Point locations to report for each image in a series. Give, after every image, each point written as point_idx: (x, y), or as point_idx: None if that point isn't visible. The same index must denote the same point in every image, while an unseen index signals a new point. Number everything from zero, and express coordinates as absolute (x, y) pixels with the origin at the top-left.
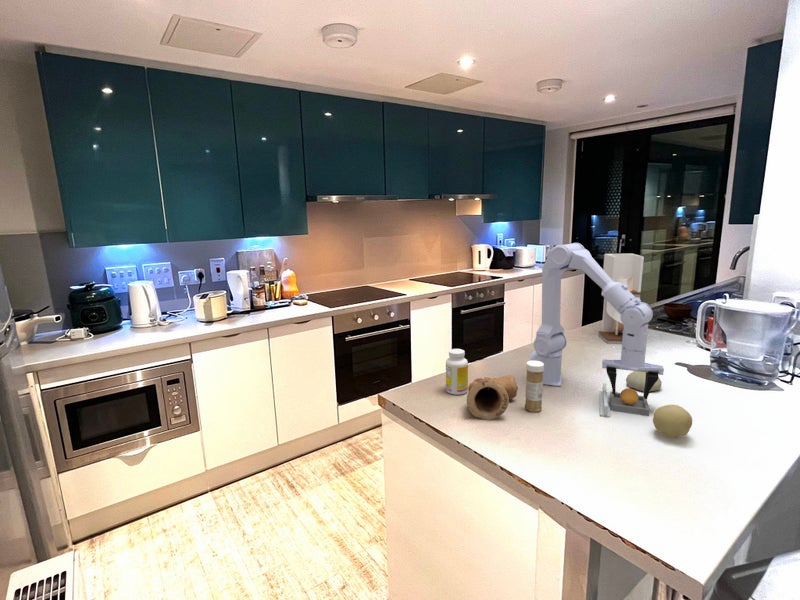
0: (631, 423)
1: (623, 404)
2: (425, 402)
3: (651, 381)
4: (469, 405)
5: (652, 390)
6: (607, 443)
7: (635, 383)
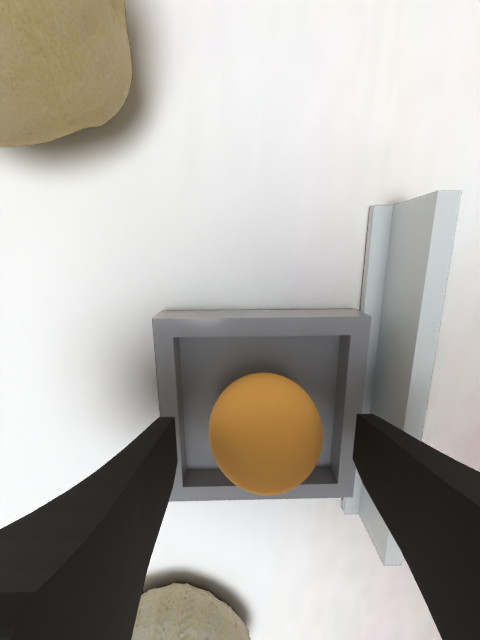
0: (260, 171)
1: None
2: None
3: (34, 539)
4: None
5: None
6: None
7: (211, 628)
